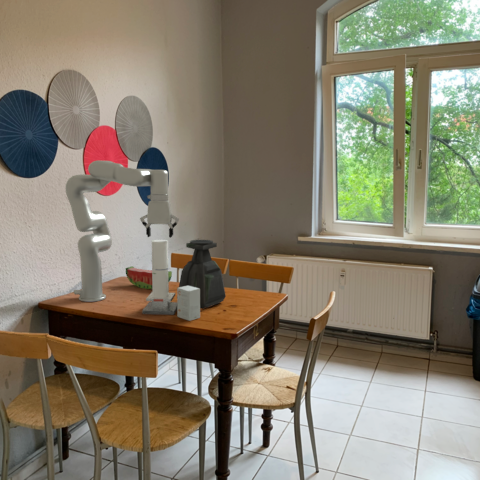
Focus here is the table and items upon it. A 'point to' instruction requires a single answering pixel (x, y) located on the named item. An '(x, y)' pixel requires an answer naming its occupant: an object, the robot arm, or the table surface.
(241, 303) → the table surface
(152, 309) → the stand
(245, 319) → the table surface
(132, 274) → the fruit slice
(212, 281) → the bottle
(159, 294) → the cylindrical container
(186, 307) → the small box
